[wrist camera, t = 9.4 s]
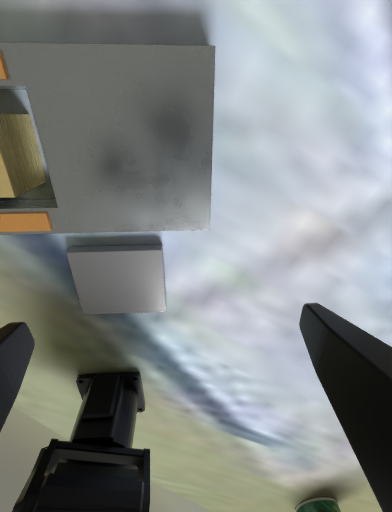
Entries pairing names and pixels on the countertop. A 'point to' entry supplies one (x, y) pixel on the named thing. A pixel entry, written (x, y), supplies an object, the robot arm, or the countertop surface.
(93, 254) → the tab
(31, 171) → the brass clip
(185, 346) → the countertop surface
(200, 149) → the rail plate
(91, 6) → the countertop surface
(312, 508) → the canned tomato
